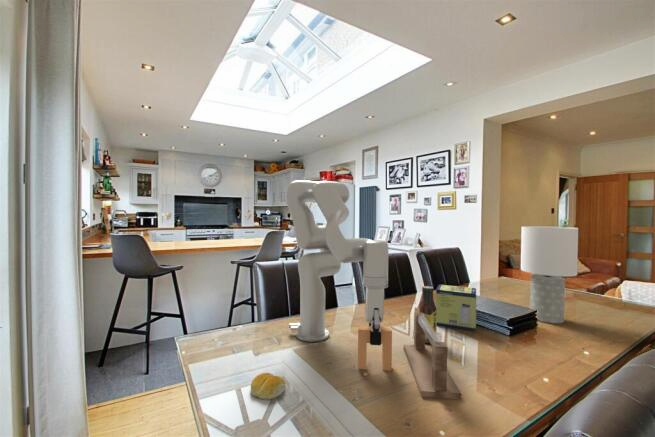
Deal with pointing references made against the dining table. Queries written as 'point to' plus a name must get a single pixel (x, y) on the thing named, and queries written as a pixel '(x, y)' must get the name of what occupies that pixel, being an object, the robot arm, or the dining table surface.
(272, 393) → the bread roll
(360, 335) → the wooden arch block
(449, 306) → the protein box
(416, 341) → the rail stand
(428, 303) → the sauce bottle
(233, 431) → the dining table surface
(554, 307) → the lamp
